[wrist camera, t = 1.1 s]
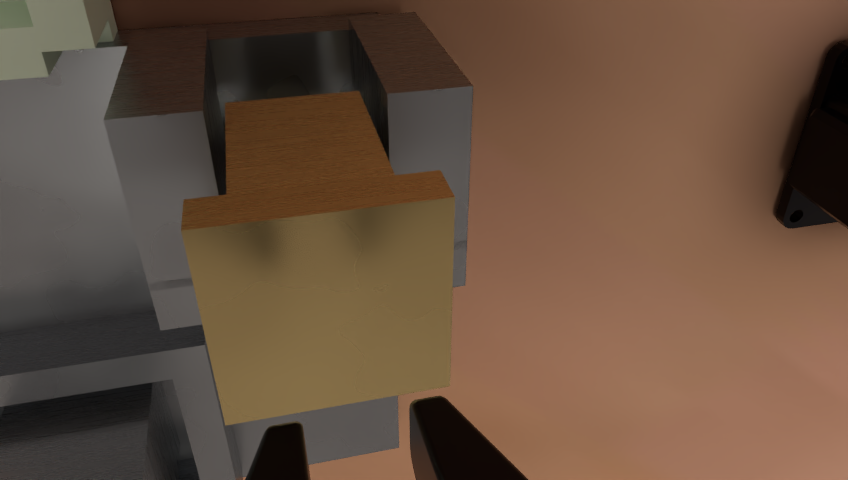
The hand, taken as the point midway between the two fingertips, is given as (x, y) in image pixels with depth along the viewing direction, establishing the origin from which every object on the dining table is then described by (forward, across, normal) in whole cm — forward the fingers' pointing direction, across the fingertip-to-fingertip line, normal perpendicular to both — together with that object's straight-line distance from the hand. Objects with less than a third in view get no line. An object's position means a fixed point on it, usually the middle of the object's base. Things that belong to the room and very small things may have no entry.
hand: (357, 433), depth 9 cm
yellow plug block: (+8, 0, 0) cm, 8 cm away
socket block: (+12, +4, +6) cm, 14 cm away
